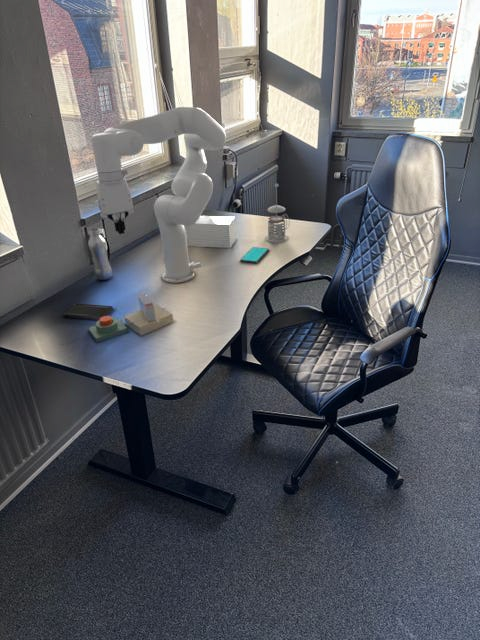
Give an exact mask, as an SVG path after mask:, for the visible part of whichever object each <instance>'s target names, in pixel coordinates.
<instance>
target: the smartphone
mask: <svg viewBox="0 0 480 640" xmlns="http://www.w3.org/2000/svg"><path fill="white" fill-rule="evenodd" d="M269 250H270V249H269V247H268V248H266V247H257V246H256V247H255V246H253V247H251V248H250V249H249V251H247V252H246V253H245V255H243V256H242V257H241V258H240V262H241V263H249V264H258V263H259V262H260V261H261V260H262V258H264V257H265V255H267V253H269Z"/></svg>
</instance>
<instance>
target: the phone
mask: <svg viewBox="0 0 480 640" xmlns="http://www.w3.org/2000/svg"><path fill="white" fill-rule="evenodd" d="M113 311H114V307H113V306H112V305H104V304H103V305H100V304H89V303H88V304H86V303H74V304H72V305H71V306H70V307H69V308H68V309H67V310H65V312H64V313H63V315H64V317H65V318H70V319H84V320H96V321H98V320H100V318H101V317H103V316H110V314H112V312H113Z"/></svg>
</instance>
